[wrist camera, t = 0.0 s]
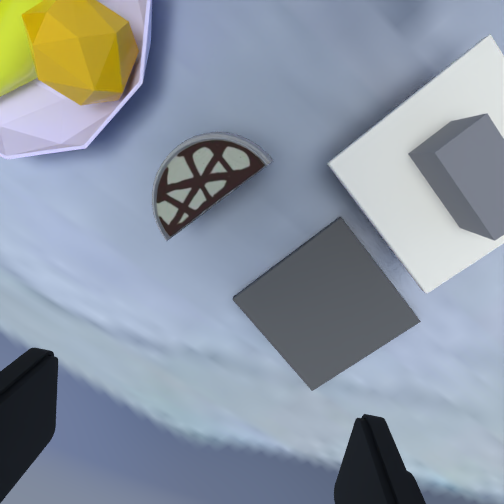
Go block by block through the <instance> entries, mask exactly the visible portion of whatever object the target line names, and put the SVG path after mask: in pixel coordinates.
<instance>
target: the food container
mask: <svg viewBox="0 0 504 504" xmlns="http://www.w3.org/2000/svg"><path fill="white" fill-rule="evenodd" d="M272 162H273V160H272V159H271V157H270V156H269V155H268V154H267V153H266V152H265V151H264V150H263V149H262V148H261V147H259V146H258V145H257V144H255V143H253V142H252V141H250V140H249V139H246V138H244V137H242V136H239V135H235V134H231V133H226V132H211V133H204V134H200V135H197V136H194V137H192V138H190V139H188V140H186V141H184V142H183V143H181V144H180V145H178V146H177V147H176V148H175V149H174V150H173V151H172V152H171V153H170V154H169V155H168V156H167V157H166V159H165V160H164V161H163V163H162V164H161V166H160V168H159V170H158V172H157V174H156V178H155V181H154V184H153V191H152V207H153V213H154V217H155V220H156V223H157V225H158V227H159V230H160V232H161V234H162V235H163V236H164V238H165V239H166V241H168V240H169V239H170V238H172V237H173V236H174V235H176V234H177V233H178V232H180V231H181V230H182V229H184V228H185V227H186V226H188V225H189V224H190V223H192V222H193V221H194V220H196V219H197V218H198V217H200V216H201V215H202V214H204V213H205V212H206V211H208V210H209V209H210V208H212V207H213V206H214V205H216V204H217V203H218V202H220V201H221V200H222V199H224V198H225V197H226V196H228V195H229V194H230V193H232V192H233V191H234V190H236V189H237V188H238V187H240V186H241V185H242V184H244V183H245V182H246V181H248V180H249V179H250V178H252V177H253V176H254V175H256V174H257V173H258V172H259V171H261V170H262V169H264V168H265V167H266V166H268V165H269V164H270V163H272Z"/></svg>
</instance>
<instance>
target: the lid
mask: <svg viewBox="0 0 504 504" xmlns="http://www.w3.org/2000/svg"><path fill="white" fill-rule="evenodd" d="M327 164H328V166H329V167H330V168H331V170H332V171H333V172H334V174H335V175H336V176H337V178H338V179H339V180H340V182H341V183H342V184H343V186H344V187H345V188H346V190H347V191H348V192H349V194H350V195H351V196H352V198H353V199H354V200H355V202H356V203H357V204H358V206H359V207H360V208H361V210H362V211H363V212H364V214H365V215H366V216H367V218H368V219H369V220H370V222H371V223H372V224H373V226H374V227H375V228H376V230H377V231H378V232H379V234H380V235H381V236H382V238H383V239H384V240H385V242H386V243H387V244H388V246H389V247H390V248H391V250H392V251H393V252H394V254H395V255H396V256H397V258H398V259H399V260H400V262H401V263H402V264H403V266H404V267H405V268H406V270H407V271H408V272H409V274H410V275H411V276H412V278H413V279H414V280H415V282H416V283H417V284H418V286H419V287H420V288H421V290H422V291H424V292H425V293H426V294H427V293H429V292H430V291H432V290H433V289H435V288H437V287H438V286H440V285H441V284H443V283H444V282H446V281H447V280H449V279H450V278H452V277H453V276H455V275H456V274H458V273H459V272H461V271H462V270H464V269H465V268H467V267H469V266H470V265H472V264H473V263H475V262H476V261H478V260H479V259H481V258H482V257H484V256H485V255H487V254H488V253H490V252H491V251H493V250H494V249H496V248H497V247H499V246H501V245H502V244H504V55H503V54H502V52H501V51H500V49H499V47H498V46H497V44H496V42H495V41H494V39H493V37H492V36H491V34H490V35H488V36H487V37H485V38H483V39H481V40H480V41H479V42H478V43H476V44H475V45H474V46H473V47H471V48H470V49H469V50H468V51H466V52H465V53H464V54H463V55H461V56H460V57H459V58H458V59H456V60H455V61H454V62H453V63H451V64H450V65H449V66H448V67H446V68H445V69H444V70H443V71H441V72H440V73H439V74H438V75H436V76H435V77H434V78H433V79H431V80H430V81H429V82H428V83H426V84H425V85H424V86H423V87H421V88H420V89H419V90H418V91H416V92H415V93H414V94H413V95H411V96H410V97H409V98H408V99H406V100H405V101H404V102H403V103H401V104H400V105H399V106H398V107H396V108H395V109H394V110H393V111H391V112H390V113H389V114H388V115H386V116H385V117H384V118H383V119H381V120H380V121H379V122H378V123H376V124H375V125H374V126H373V127H371V128H370V129H369V130H368V131H366V132H365V133H364V134H363V135H361V136H360V137H359V138H358V139H356V140H355V141H354V142H353V143H351V144H350V145H349V146H348V147H346V148H345V149H344V150H343V151H341V152H340V153H339V154H338V155H336V156H335V157H334V158H333V159H331V160H330V161H329V162H328V163H327Z"/></svg>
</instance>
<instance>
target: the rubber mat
mask: <svg viewBox="0 0 504 504" xmlns="http://www.w3.org/2000/svg"><path fill="white" fill-rule="evenodd" d="M233 301H234V302H235V303H236V304H237V305H238V306H239V307H240V309H241V310H242V311H243V312H244V313H245V314H246V315H247V317H248V318H249V319H250V320H251V321H252V322H253V324H254V325H255V326H256V327H257V328H258V329H259V330H260V332H261V333H262V334H263V335H264V336H265V337H266V338H267V340H268V341H269V342H270V343H271V344H272V345H273V346H274V348H275V349H276V350H277V351H278V352H279V353H280V355H281V356H282V357H283V358H284V359H285V360H286V361H287V363H288V364H289V365H290V366H291V367H292V368H293V369H294V371H295V372H296V373H297V374H298V375H299V376H300V377H301V379H302V380H303V381H304V382H305V383H306V384H307V386H308V387H309V388H310V389H311V390H312V391H313V390H314V389H316V388H318V387H319V386H321V385H322V384H324V383H325V382H327V381H329V380H330V379H332V378H333V377H335V376H336V375H338V374H339V373H341V372H343V371H344V370H346V369H347V368H349V367H350V366H352V365H354V364H355V363H357V362H358V361H360V360H361V359H363V358H365V357H366V356H368V355H369V354H371V353H372V352H374V351H375V350H377V349H379V348H380V347H382V346H383V345H385V344H386V343H388V342H390V341H391V340H393V339H394V338H396V337H397V336H399V335H400V334H402V333H404V332H405V331H407V330H408V329H410V328H411V327H413V326H415V325H416V324H418V323H419V322H421V321H420V320H419V319H418V317H417V316H416V315H415V314H414V312H413V311H412V310H411V308H410V307H409V306H408V304H407V303H406V302H405V300H404V299H403V298H402V297H401V295H400V294H399V293H398V291H397V290H396V289H395V287H394V286H393V285H392V283H391V282H390V281H389V280H388V278H387V277H386V276H385V274H384V273H383V272H382V270H381V269H380V268H379V266H378V265H377V264H376V263H375V261H374V260H373V259H372V257H371V256H370V255H369V253H368V252H367V251H366V249H365V248H364V247H363V246H362V244H361V243H360V242H359V240H358V239H357V238H356V236H355V235H354V234H353V232H352V231H351V230H350V229H349V227H348V226H347V225H346V223H345V222H344V221H343V219H342V218H341V217H339V218H338V219H336V220H335V221H334V222H332V223H331V224H330V225H328V226H327V227H326V228H324V229H323V230H322V231H320V232H319V233H318V234H316V235H315V236H314V237H312V238H311V239H310V240H308V241H307V242H306V243H304V244H303V245H302V246H300V247H299V248H298V249H296V250H295V251H294V252H292V253H291V254H290V255H288V256H287V257H286V258H284V259H283V260H282V261H280V262H279V263H278V264H276V265H275V266H274V267H273V268H271V269H270V270H269V271H267V272H266V273H265V274H263V275H262V276H261V277H259V278H258V279H257V280H255V281H254V282H253V283H251V284H250V285H249V286H247V287H246V288H245V289H243V290H242V291H241V292H239V293H238V294H237V295H235V296H234V297H233Z"/></svg>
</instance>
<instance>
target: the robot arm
mask: <svg viewBox="0 0 504 504" xmlns="http://www.w3.org/2000/svg"><path fill="white" fill-rule="evenodd" d="M57 377H58V358H57V357H54V353H53V352H52V351H49V350H44V349H39V348H31V349H29V350H28V351H27V352H25V353H24V354H23V355H21V356H20V357H19V358H17V359H16V360H15V361H14V362H12V363H11V364H10V365H8V366H7V367H6V368H4V369H3V370H2V371H0V503H1V502H2V500H3V499H4V498H5V496H6V495H7V494H8V493H9V492H10V490H11V489H12V488H13V487H14V485H15V484H16V483H17V482H18V480H19V479H20V478H21V477H22V475H23V474H24V473H25V472H26V470H27V469H28V468H29V467H30V465H31V464H32V463H33V462H34V460H35V459H36V458H37V457H38V455H39V454H40V453H41V452H42V450H43V449H44V448H45V447H46V445H47V444H48V443H49V442H50V440H51V439H52V437H53V434H54V432H55V425H56V400H57ZM334 500H335V504H426V503H425V501H424V498H423V496H422V494H421V491H420V489H419V487H418V485H417V482H416V480H415V478H414V477H413V475H412V474H411V473H410V472H408V471H407V470H406V468H405V466H404V463H403V461H402V459H401V456H400V454H399V452H398V449H397V447H396V444H395V442H394V440H393V437H392V435H391V433H390V430H389V428H388V426H387V423H386V421H385V419H384V418H382V417H377V416H372V415H367V414H364V415H363V416H362V418H357V419H356V421H355V423H354V426H353V430H352V433H351V436H350V439H349V442H348V445H347V449H346V452H345V455H344V458H343V461H342V464H341V468H340V471H339V474H338V477H337V480H336V483H335V488H334Z"/></svg>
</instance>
